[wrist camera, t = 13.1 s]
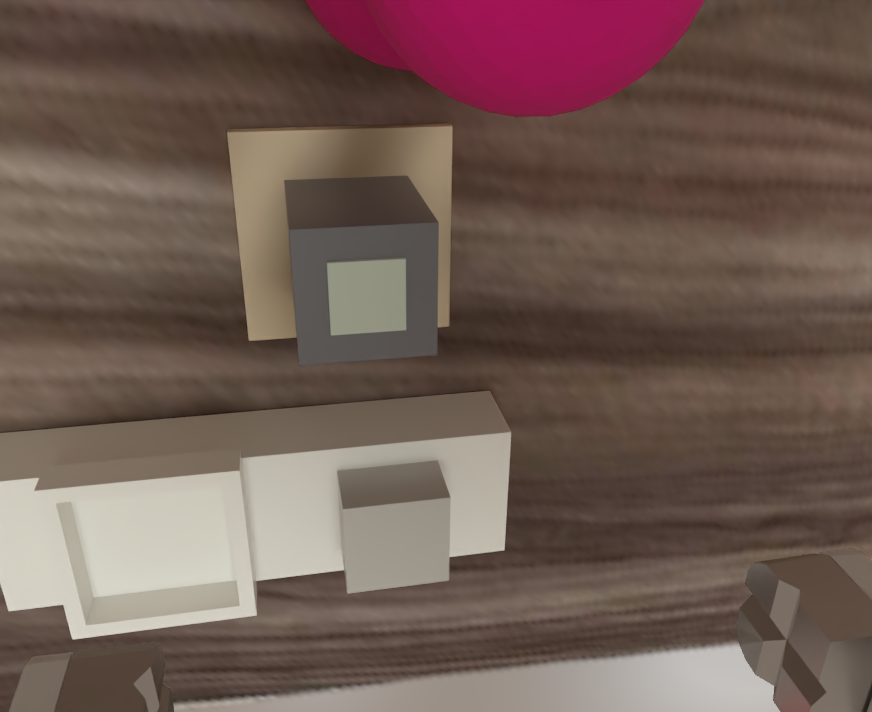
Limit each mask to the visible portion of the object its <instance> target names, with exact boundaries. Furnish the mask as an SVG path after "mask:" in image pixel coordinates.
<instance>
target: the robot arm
mask: <svg viewBox="0 0 872 712" xmlns="http://www.w3.org/2000/svg"><path fill="white" fill-rule="evenodd" d="M745 584H746V586H747V587H748V588H749V590H750V591H751V593H752V595H751V596H750V597H749V598H748V599H747V600H746V602H745V603H744V604H743V605H742V606H741V607H740V609H739V615H738V621H737V631H738V637H739V644H740V647H741V649H742V652H743V654H744V657H745V659H746V661H747V662H748V664H749V665H750V667H751V668H752V670H753V672H754V673H755V675H757V676H759V677H760V678H762V679H764V680H765V681H767V682H769V683H770V684H772V685H774V697H773V701H774V703H775V704H776V706H777V707H778V709H779V710H780V711H781V712H872V562H871V561H870V560H869V559H868V558H867V557H866V556H865V555H864V554H863V553H862V552H860V551H858V550H856V549H853V548H848V549H841V550H834V551H827V552H821V553H818V554H808V555H801V556H794V557H787V558H780V559H773V560H766V561H759V562H755V563H754V564H753V565H752V566H751V568H750V569H749V570H748V574H747V578H746V582H745ZM164 669H165V661H164V656H163V652H162V648H161V645H160V644H159V643H157V642H156V643H147V644H138V645H128V646H119V647H110V648H101V649H92V650H83V651H75V652H74V653H64V654H54V655H45V656H35V657H32V658H31V659H30V661H29V662H28V663H27V665H26V666H25V667H24V669H23V672H22V675H21V677H20V680H19V683H18V686H17V689H16V692H15V695H14V698H13V700H12V703H11V706H10V709H9V712H174V706H173V700H172V694H171V689H170V688H168V687H167V686H165V685H164V684H163V677H164Z"/></svg>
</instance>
